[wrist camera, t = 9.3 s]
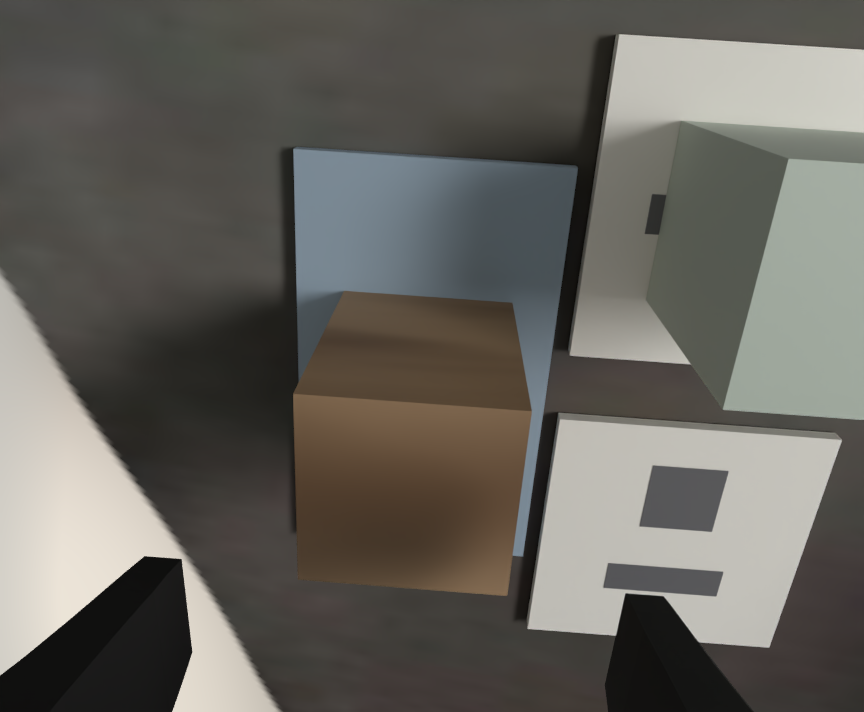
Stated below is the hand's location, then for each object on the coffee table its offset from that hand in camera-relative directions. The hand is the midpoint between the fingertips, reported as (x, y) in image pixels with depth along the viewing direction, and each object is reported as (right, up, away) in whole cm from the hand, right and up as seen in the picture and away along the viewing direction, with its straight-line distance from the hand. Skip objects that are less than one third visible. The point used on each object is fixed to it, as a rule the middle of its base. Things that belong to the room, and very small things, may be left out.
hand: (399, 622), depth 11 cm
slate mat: (0, +4, +9) cm, 9 cm away
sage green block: (+9, +8, +6) cm, 13 cm away
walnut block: (0, +4, +8) cm, 9 cm away
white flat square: (+9, +8, +6) cm, 13 cm away
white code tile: (+8, -1, +10) cm, 13 cm away
